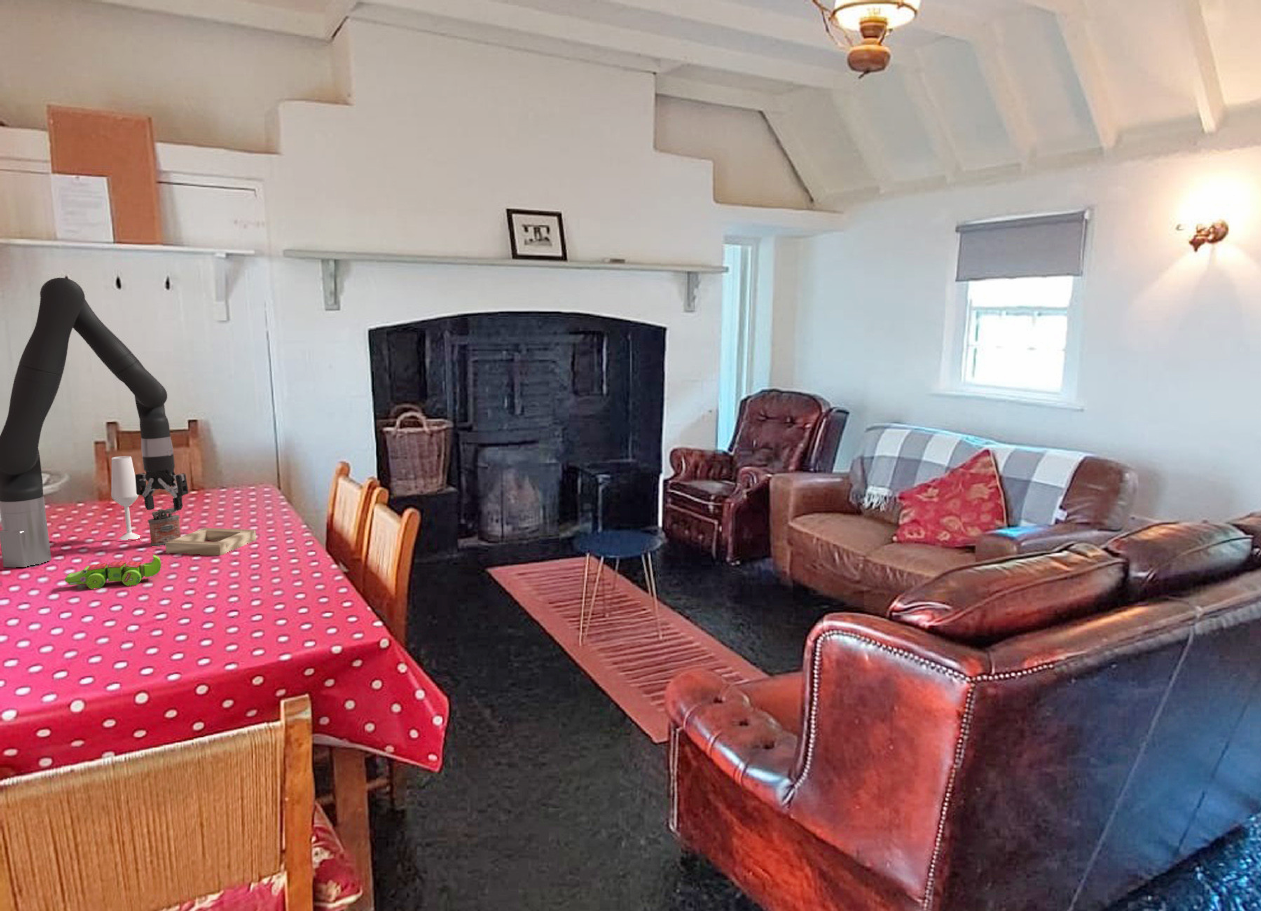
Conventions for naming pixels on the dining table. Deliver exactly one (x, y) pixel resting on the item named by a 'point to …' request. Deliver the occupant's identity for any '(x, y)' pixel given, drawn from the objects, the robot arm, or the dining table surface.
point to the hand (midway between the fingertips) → (164, 509)
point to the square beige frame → (225, 538)
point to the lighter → (164, 527)
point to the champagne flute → (124, 489)
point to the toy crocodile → (114, 573)
